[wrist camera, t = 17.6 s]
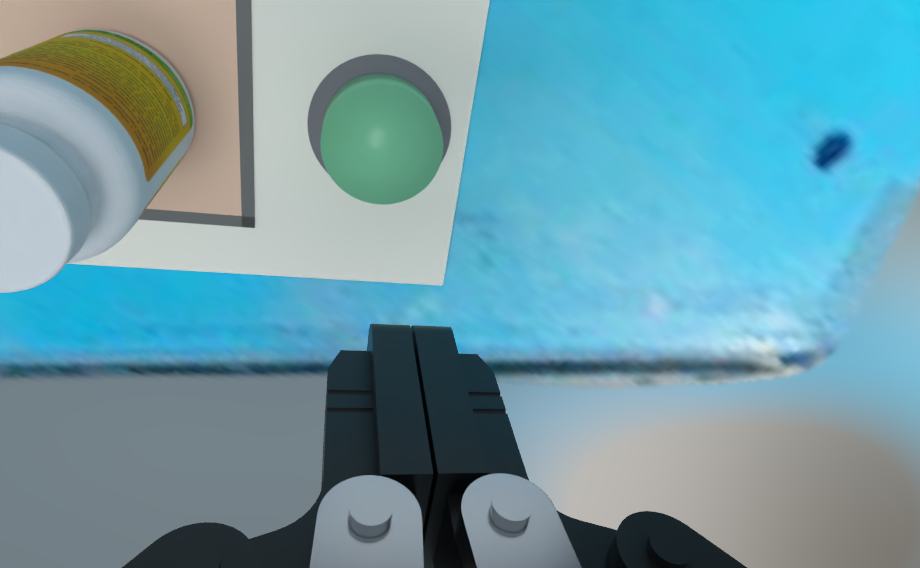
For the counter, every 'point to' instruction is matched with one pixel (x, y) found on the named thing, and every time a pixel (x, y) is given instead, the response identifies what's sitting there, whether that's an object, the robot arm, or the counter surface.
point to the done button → (381, 139)
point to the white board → (284, 129)
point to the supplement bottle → (82, 148)
